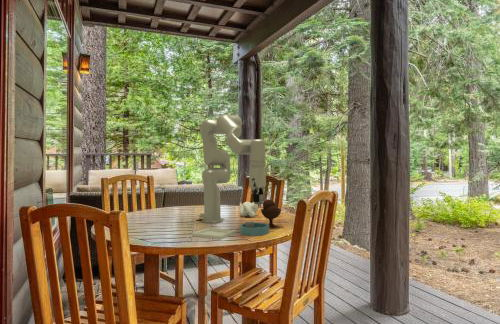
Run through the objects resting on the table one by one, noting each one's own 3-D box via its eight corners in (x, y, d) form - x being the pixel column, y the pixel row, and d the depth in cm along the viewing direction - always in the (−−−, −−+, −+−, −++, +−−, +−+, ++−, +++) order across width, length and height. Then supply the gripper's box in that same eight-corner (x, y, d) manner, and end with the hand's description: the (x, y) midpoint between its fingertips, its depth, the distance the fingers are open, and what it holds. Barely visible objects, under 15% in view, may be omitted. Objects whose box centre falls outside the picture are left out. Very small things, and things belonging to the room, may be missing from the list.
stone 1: (243, 231, 178) (243, 222, 178) (247, 230, 182) (247, 221, 182) (251, 232, 176) (251, 223, 176) (255, 230, 180) (255, 221, 180)
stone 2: (252, 204, 176) (252, 194, 176) (256, 202, 180) (256, 194, 179) (260, 204, 174) (260, 195, 174) (264, 203, 177) (264, 194, 177)
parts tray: (192, 237, 171) (192, 233, 171) (209, 231, 184) (209, 227, 184) (220, 240, 164) (220, 236, 164) (236, 234, 176) (236, 230, 176)
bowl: (235, 234, 175) (234, 226, 175) (248, 229, 188) (248, 221, 188) (260, 237, 169) (260, 229, 169) (272, 231, 181) (272, 223, 181)
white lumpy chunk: (253, 214, 236) (253, 200, 236) (262, 216, 225) (262, 202, 225) (238, 215, 231) (237, 201, 230) (246, 218, 220) (246, 204, 220)
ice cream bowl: (280, 229, 187) (279, 200, 187) (259, 228, 190) (258, 200, 189) (282, 225, 198) (282, 198, 197) (262, 224, 200) (262, 197, 200)
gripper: (258, 164, 185) (259, 199, 186) (243, 164, 171) (243, 203, 171) (271, 164, 182) (272, 199, 182) (257, 164, 167) (257, 203, 167)
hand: (258, 201), depth 177 cm, fingers closed on stone 2, 4 cm apart
